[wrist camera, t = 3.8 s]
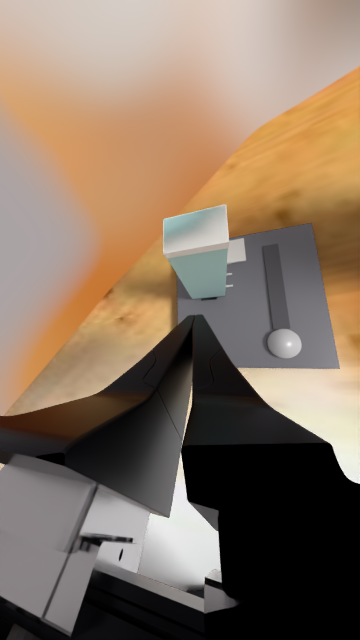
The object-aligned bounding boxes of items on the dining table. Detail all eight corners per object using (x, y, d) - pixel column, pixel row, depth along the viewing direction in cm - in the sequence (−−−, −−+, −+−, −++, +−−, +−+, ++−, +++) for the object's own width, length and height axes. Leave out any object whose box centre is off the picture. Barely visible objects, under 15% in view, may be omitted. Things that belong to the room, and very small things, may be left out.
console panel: (333, 367, 16) (343, 369, 15) (180, 366, 20) (177, 367, 19) (306, 229, 19) (313, 220, 18) (178, 252, 23) (175, 246, 22)
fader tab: (225, 298, 19) (229, 241, 9) (192, 301, 20) (163, 253, 10) (224, 278, 20) (226, 204, 10) (192, 282, 21) (163, 218, 11)
